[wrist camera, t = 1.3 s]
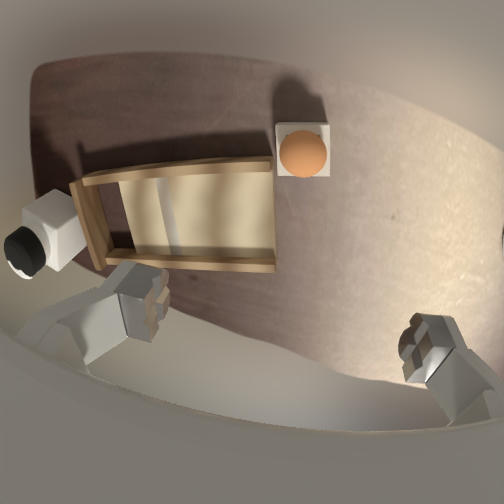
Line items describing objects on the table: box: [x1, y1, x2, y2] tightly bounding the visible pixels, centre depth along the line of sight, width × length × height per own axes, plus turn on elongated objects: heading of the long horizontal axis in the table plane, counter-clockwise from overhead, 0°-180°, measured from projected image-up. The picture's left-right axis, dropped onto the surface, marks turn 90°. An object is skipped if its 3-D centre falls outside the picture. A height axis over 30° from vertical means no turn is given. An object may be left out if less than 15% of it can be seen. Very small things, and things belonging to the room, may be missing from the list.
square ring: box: [275, 122, 330, 176], centre depth 25 cm, size 5×5×2 cm
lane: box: [69, 156, 277, 273], centre depth 31 cm, size 23×12×4 cm, turn 94°
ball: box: [279, 130, 327, 177], centre depth 23 cm, size 4×4×4 cm
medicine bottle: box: [4, 189, 87, 279], centre depth 31 cm, size 7×7×12 cm
